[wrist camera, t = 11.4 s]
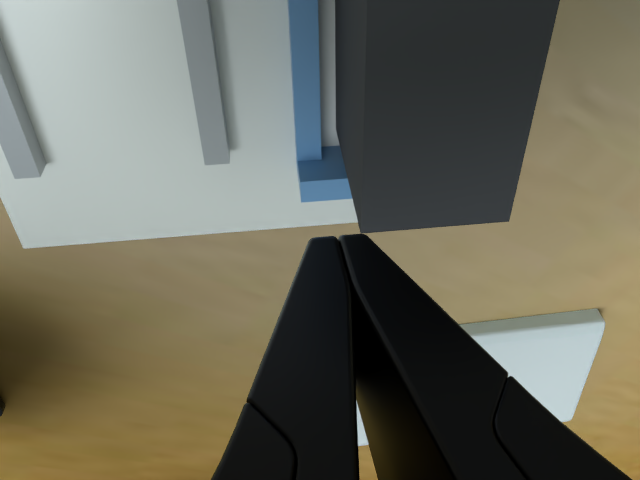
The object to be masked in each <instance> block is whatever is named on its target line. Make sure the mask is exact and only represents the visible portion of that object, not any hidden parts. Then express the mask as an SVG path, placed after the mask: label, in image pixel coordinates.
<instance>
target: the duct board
mask: <svg viewBox="0 0 640 480" xmlns="http://www.w3.org/2000/svg"><path fill="white" fill-rule="evenodd" d="M0 197H1V200H2V202H3V204H4V206H5V208H6V211H7V213H8V215H9V217H10V220H11V222H12V224H13V226H14V229H15V231H16V233H17V235H18V237H19V240H20V242H21V244H22V246H23V249H25V248H38V247H51V246H63V245H76V244H89V243H101V242H114V241H127V240H139V239H152V238H164V237H177V236H190V235H202V234H215V233H228V232H240V231H253V230H266V229H278V228H291V227H304V226H316V225H329V224H342V223H354V222H358V220H357V216H356V211H355V207H354V203H353V199H352V195H351V190H350V186H349V182H348V178H347V174H346V170H345V165H344V161H343V157H342V153H341V149H340V144H339V140H338V136H337V132H336V76H335V0H0Z"/></svg>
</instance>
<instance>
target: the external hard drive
mask: <svg viewBox="0 0 640 480" xmlns="http://www.w3.org/2000/svg"><path fill="white" fill-rule="evenodd" d="M460 326H461V327H462V328H463V329H464V330H465V331H466V332H467V333H468V334H469V335H470V336H471V337H472V338H473V339H474V340H475V341H476V342H477V343H478V344H479V345H480V346H481V347H482V348H483V349H485V350H486V351H487V352H488V353H489V354H490V355H491V356H492V357H493V358H494V359H495V360H496V361H497V362H498V363H499V364H500V365H501V366H502V367H503V368H504V369H505V370H506V371H507V372H508V377H509V376H512V377H514V378H515V379H516V380H517V381H518V382H519V383H520V384H521V385H522V386H523V387H524V388H525V389H526V390H527V391H528V392H529V393H530V394H531V395H532V396H534V397H535V398H536V399H537V400H538V401H539V402H540V403H541V404H542V405H543V406H544V407H545V408H547V409H548V410H549V411H550V412H551V413H552V414H553V415H554V416H555V417H556V418H557V419H559V420H560V421H561V422H565V421H570V420H571V419H572V417H573V415H574V412H575V409H576V407H577V404H578V401H579V399H580V396H581V393H582V390H583V387H584V385H585V382H586V379H587V376H588V374H589V371H590V369H591V366H592V363H593V360H594V357H595V355H596V352H597V349H598V347H599V344H600V342H601V338H602V336H603V332H604V329H605V321H604V319H603V318H602V316H601V314H600V313H599V311H598V309H597V308H596V309H588V310H579V311H570V312H561V313H554V314H545V315H537V316H528V317H520V318H511V319H503V320H494V321H486V322H477V323H468V324H460ZM356 404H357V400H356ZM357 430H358V446H363V445H369V444H368V440H367V437H366V433H365V429H364V426H363V422H362V419H361V415H360V411H359V408H358V404H357Z"/></svg>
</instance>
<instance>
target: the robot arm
mask: <svg viewBox="0 0 640 480" xmlns="http://www.w3.org/2000/svg"><path fill="white" fill-rule="evenodd" d="M356 400H357V404H358V408H359V411H360V415H361V419H362V422H363V426H364V429H365V433H366V437H367V440H368V444H369V448H370V451H371V455H372V459H373V462H374V466H375V470H376V473H377V477H378V480H632V479H631V478H629V477H628V476H627V475H626V474H624V473H623V472H622V471H621V470H619V469H618V468H617V467H616V466H614V465H613V464H612V463H611V462H609V461H608V460H607V459H606V458H604V457H603V456H602V455H600V454H599V453H598V452H597V451H596V450H594V449H593V448H592V447H591V446H590V445H588V444H587V443H586V442H585V441H584V440H582V439H581V438H580V437H579V436H578V435H576V434H575V433H574V432H573V431H572V430H570V429H569V428H568V427H567V426H565V425H564V424H563V423H562V422H561V421H560V420H559V419H557V418H556V417H555V416H554V415H553V414H552V413H551V412H550V411H549V410H548V409H547V408H545V407H544V406H543V405H542V404H541V403H540V402H539V401H538V400H537V399H536V398H535V397H534V396H532V395H531V394H530V393H529V392H528V391H527V390H526V389H525V388H524V387H523V386H522V385H521V384H520V383H519V382H518V381H517V380H516V379H515V378H514V377H512V376H509V377H508V372H507V371H506V370H505V369H504V368H503V367H502V366H501V365H500V364H499V363H498V362H497V361H496V360H495V359H494V358H493V357H492V356H491V355H490V354H489V353H488V352H487V351H486V350H485V349H483V348H482V347H481V346H480V345H479V344H478V343H477V342H476V341H475V340H474V339H473V338H472V337H471V336H470V335H469V334H468V333H467V332H466V331H465V330H464V329H463V328H462V327H461V326H460V325H459V324H458V323H457V322H456V321H455V320H454V319H452V318H451V317H450V316H449V315H448V314H447V313H446V312H445V311H444V310H443V309H442V308H441V307H440V306H439V305H438V304H437V303H436V302H435V301H434V300H433V299H432V298H431V297H430V296H429V295H428V294H427V293H426V292H425V291H424V290H423V289H421V288H420V287H419V286H418V285H417V284H416V283H415V282H414V281H413V280H412V279H411V278H410V277H409V276H408V275H407V274H406V273H405V272H404V271H403V270H402V269H401V268H400V267H399V266H398V265H397V264H396V263H395V262H394V261H393V260H392V259H390V258H389V257H388V256H387V255H386V254H385V253H384V252H383V251H382V250H381V249H380V248H379V247H378V246H377V245H376V244H375V243H374V242H373V241H372V240H371V239H370V238H369V237H368V236H367V235H364V234H353V235H342V236H340V237H339V238H338V239H337V238H336V237H334V236H328V237H316V238H311V239H310V240H309V242H308V244H307V247H306V249H305V252H304V254H303V257H302V260H301V262H300V265H299V267H298V270H297V272H296V275H295V277H294V280H293V282H292V285H291V288H290V290H289V293H288V295H287V298H286V300H285V303H284V305H283V308H282V310H281V313H280V316H279V318H278V321H277V323H276V326H275V328H274V331H273V333H272V336H271V339H270V341H269V344H268V346H267V349H266V351H265V354H264V356H263V359H262V361H261V364H260V367H259V369H258V372H257V374H256V377H255V379H254V382H253V384H252V387H251V389H250V392H249V395H248V397H247V403H246V404H245V405H244V406H243V409H242V412H241V414H240V417H239V419H238V422H237V424H236V427H235V429H234V431H233V434H232V436H231V438H230V441H229V443H228V445H227V447H226V450H225V452H224V454H223V457H222V459H221V461H220V463H219V465H218V467H217V469H216V471H215V473H214V475H213V477H212V478H211V480H359V457H358V430H357V404H356ZM4 408H5V404H4V402H3V400H2V399H1V397H0V416H2V414H3V411H4Z"/></svg>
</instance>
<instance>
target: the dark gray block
mask: <svg viewBox="0 0 640 480" xmlns="http://www.w3.org/2000/svg"><path fill="white" fill-rule="evenodd" d="M559 1H560V0H335V76H336V132H337V136H338V140H339V144H340V149H341V153H342V157H343V161H344V165H345V170H346V174H347V178H348V182H349V186H350V190H351V195H352V199H353V203H354V207H355V211H356V216H357V220H358V224H359V228H360V232H361V233H372V232H384V231H396V230H409V229H421V228H433V227H446V226H458V225H470V224H483V223H495V222H507V221H509V219H510V215H511V210H512V206H513V202H514V197H515V193H516V189H517V184H518V180H519V175H520V171H521V167H522V162H523V158H524V154H525V149H526V145H527V141H528V136H529V132H530V128H531V123H532V119H533V115H534V110H535V106H536V101H537V97H538V93H539V88H540V84H541V80H542V75H543V71H544V67H545V62H546V58H547V54H548V49H549V45H550V40H551V36H552V32H553V27H554V23H555V19H556V14H557V10H558V6H559Z"/></svg>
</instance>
